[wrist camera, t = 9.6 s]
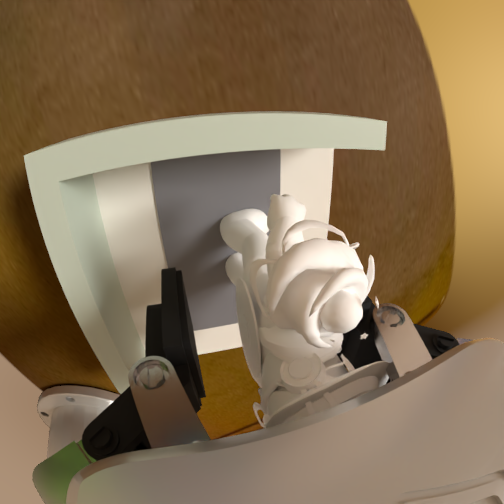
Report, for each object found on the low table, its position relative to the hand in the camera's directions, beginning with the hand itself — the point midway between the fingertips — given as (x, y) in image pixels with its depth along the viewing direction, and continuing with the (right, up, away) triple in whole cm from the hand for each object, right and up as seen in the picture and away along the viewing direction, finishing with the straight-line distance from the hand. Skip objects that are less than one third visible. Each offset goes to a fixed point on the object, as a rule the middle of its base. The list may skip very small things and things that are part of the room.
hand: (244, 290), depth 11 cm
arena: (-2, +1, +4) cm, 5 cm away
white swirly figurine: (0, +2, +4) cm, 4 cm away
